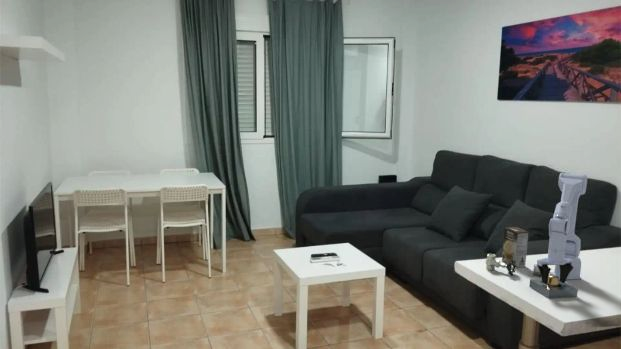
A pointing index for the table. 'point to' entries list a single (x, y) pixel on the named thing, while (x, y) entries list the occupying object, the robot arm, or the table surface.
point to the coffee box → (515, 246)
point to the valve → (499, 264)
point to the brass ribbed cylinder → (553, 280)
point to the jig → (553, 289)
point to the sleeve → (536, 271)
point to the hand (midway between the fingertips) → (553, 282)
